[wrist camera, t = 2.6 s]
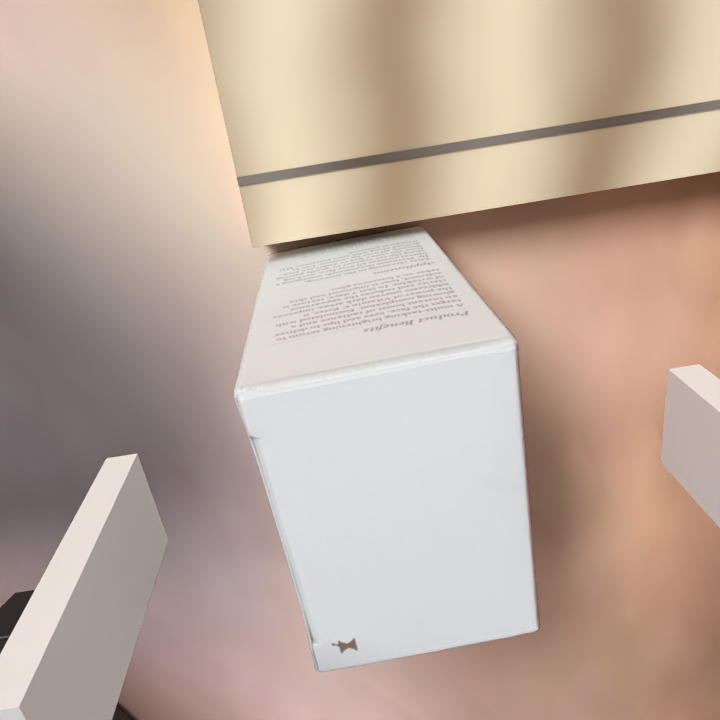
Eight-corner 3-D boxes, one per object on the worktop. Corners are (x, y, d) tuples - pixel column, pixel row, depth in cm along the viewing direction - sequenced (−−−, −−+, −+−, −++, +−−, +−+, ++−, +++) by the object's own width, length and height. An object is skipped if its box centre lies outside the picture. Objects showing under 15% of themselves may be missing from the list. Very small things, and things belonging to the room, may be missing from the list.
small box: (450, 419, 24) (545, 640, 15) (311, 446, 24) (316, 685, 15) (425, 218, 21) (528, 336, 11) (262, 250, 21) (228, 394, 11)
